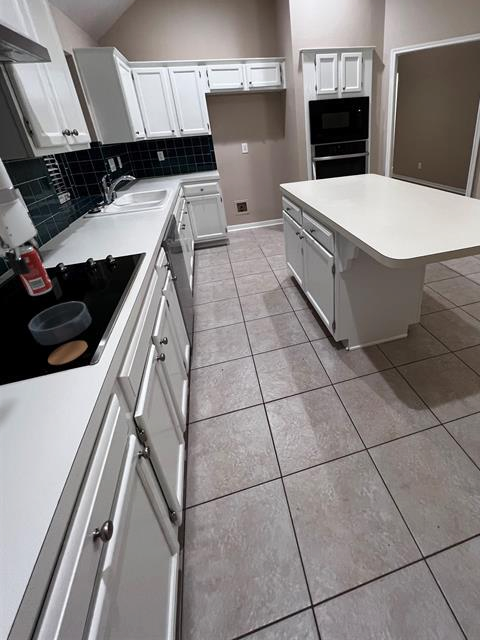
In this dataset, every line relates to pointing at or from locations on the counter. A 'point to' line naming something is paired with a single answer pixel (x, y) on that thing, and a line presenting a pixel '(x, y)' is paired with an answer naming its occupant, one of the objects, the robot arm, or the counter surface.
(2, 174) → the robot arm
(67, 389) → the counter surface
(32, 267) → the soda can
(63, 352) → the coaster
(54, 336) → the bowl
